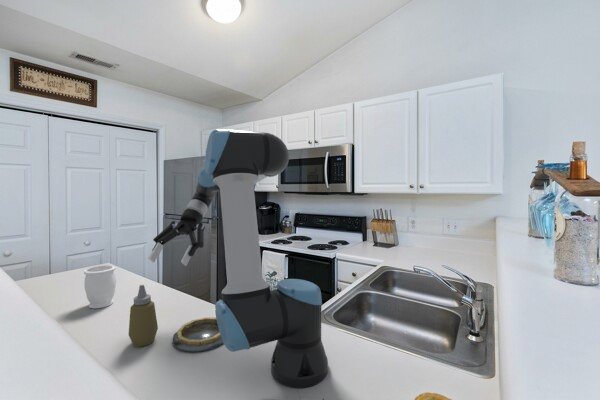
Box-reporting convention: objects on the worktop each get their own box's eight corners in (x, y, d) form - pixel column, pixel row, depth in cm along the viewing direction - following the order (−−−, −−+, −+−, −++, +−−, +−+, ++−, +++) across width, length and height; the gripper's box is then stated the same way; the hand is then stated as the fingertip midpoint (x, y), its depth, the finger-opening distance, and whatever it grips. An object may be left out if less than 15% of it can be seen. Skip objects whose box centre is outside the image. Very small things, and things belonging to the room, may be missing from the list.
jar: (122, 299, 120) (121, 265, 119) (103, 310, 110) (101, 272, 109) (99, 298, 121) (98, 264, 120) (78, 309, 111) (76, 272, 110)
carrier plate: (243, 331, 94) (243, 324, 94) (198, 359, 79) (197, 351, 79) (206, 317, 104) (206, 311, 104) (160, 341, 89) (160, 333, 89)
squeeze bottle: (125, 351, 83) (122, 291, 82) (133, 337, 91) (131, 282, 90) (155, 347, 85) (153, 288, 84) (160, 333, 93) (158, 279, 92)
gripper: (226, 221, 110) (202, 270, 97) (173, 218, 117) (144, 264, 104) (218, 208, 104) (192, 259, 91) (163, 206, 112) (131, 253, 98)
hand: (167, 262), depth 98 cm, fingers open, 13 cm apart
